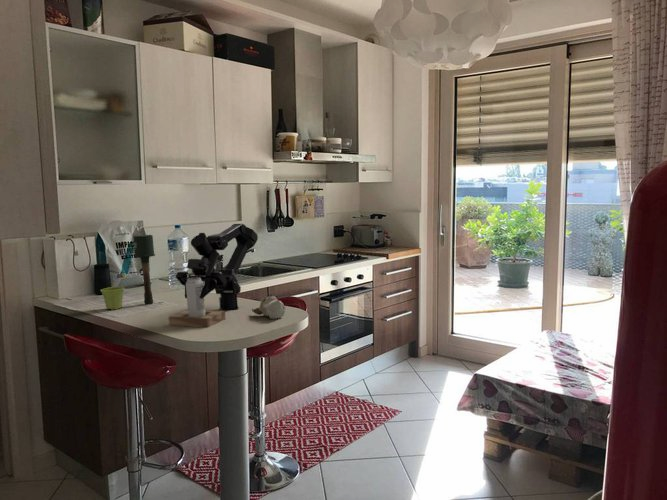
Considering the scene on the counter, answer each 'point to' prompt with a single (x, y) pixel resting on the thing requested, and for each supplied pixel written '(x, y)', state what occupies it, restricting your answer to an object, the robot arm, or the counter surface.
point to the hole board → (197, 319)
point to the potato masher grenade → (145, 261)
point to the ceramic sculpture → (270, 307)
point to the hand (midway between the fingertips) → (193, 298)
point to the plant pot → (113, 297)
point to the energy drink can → (195, 297)
